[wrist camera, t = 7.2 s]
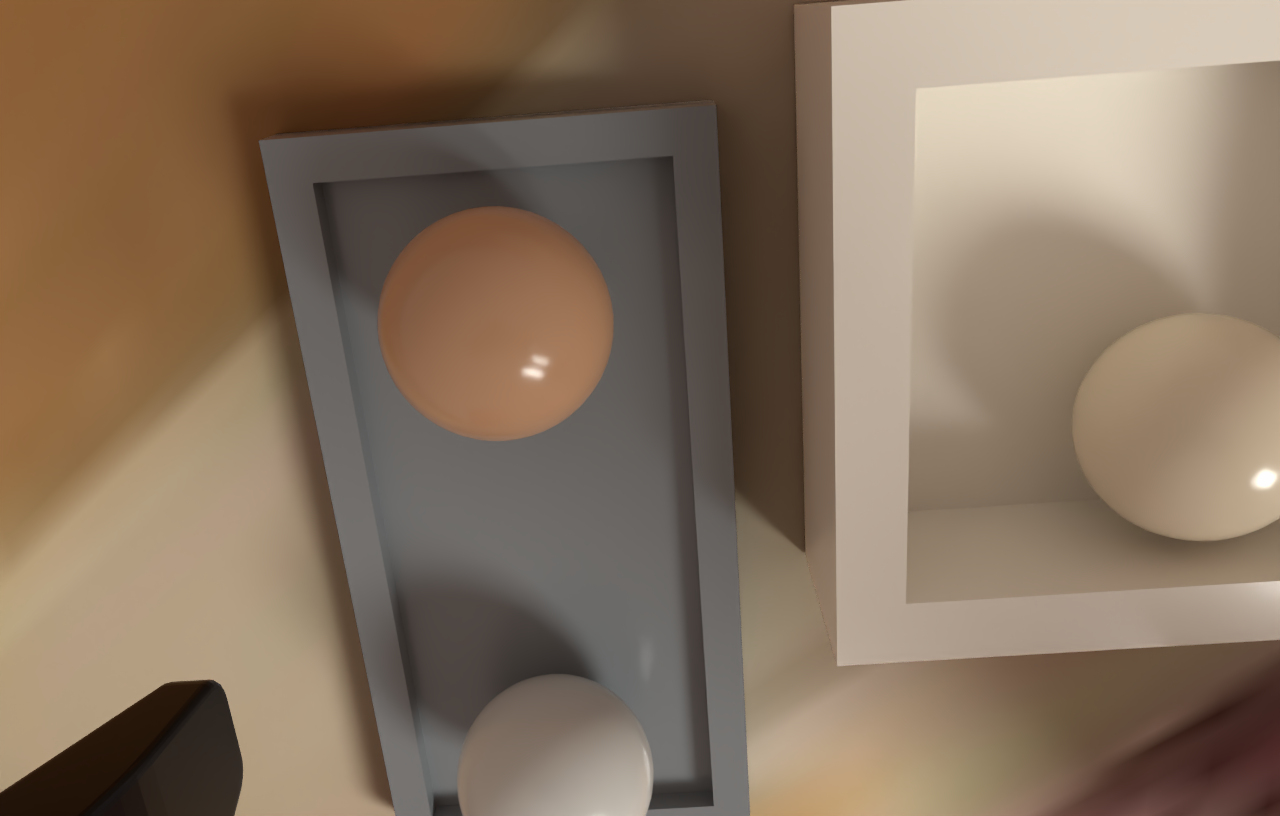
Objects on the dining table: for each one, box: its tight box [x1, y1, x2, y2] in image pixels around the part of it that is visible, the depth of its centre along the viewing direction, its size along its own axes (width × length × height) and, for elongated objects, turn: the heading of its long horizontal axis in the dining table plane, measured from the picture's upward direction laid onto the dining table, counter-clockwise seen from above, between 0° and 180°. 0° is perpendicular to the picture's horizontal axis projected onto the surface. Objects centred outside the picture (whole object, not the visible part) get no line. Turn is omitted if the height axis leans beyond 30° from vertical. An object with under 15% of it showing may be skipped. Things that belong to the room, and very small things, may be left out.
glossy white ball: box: [457, 674, 654, 816], centre depth 21 cm, size 4×4×4 cm
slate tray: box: [259, 100, 750, 816], centre depth 22 cm, size 16×8×1 cm, turn 4°
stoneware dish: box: [794, 0, 1280, 666], centre depth 18 cm, size 11×11×4 cm
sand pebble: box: [1072, 313, 1280, 541], centre depth 18 cm, size 4×4×4 cm
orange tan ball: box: [377, 206, 614, 441], centre depth 18 cm, size 4×4×4 cm
